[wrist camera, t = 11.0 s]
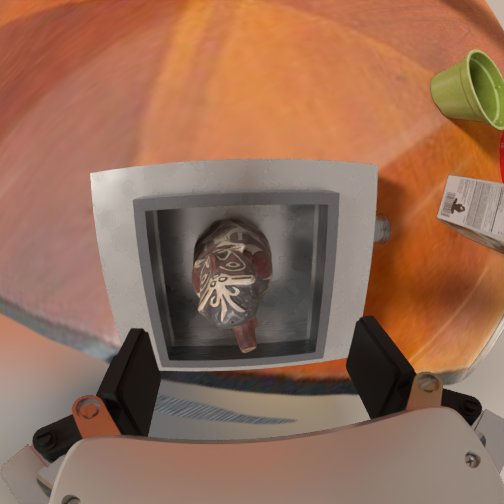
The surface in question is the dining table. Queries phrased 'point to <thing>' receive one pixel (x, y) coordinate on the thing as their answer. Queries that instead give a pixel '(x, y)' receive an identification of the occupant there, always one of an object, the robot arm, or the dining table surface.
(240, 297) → the figurine
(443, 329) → the dining table surface
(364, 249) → the grey box with knob
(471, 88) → the plant pot
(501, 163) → the kitchen timer
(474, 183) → the coffee box
